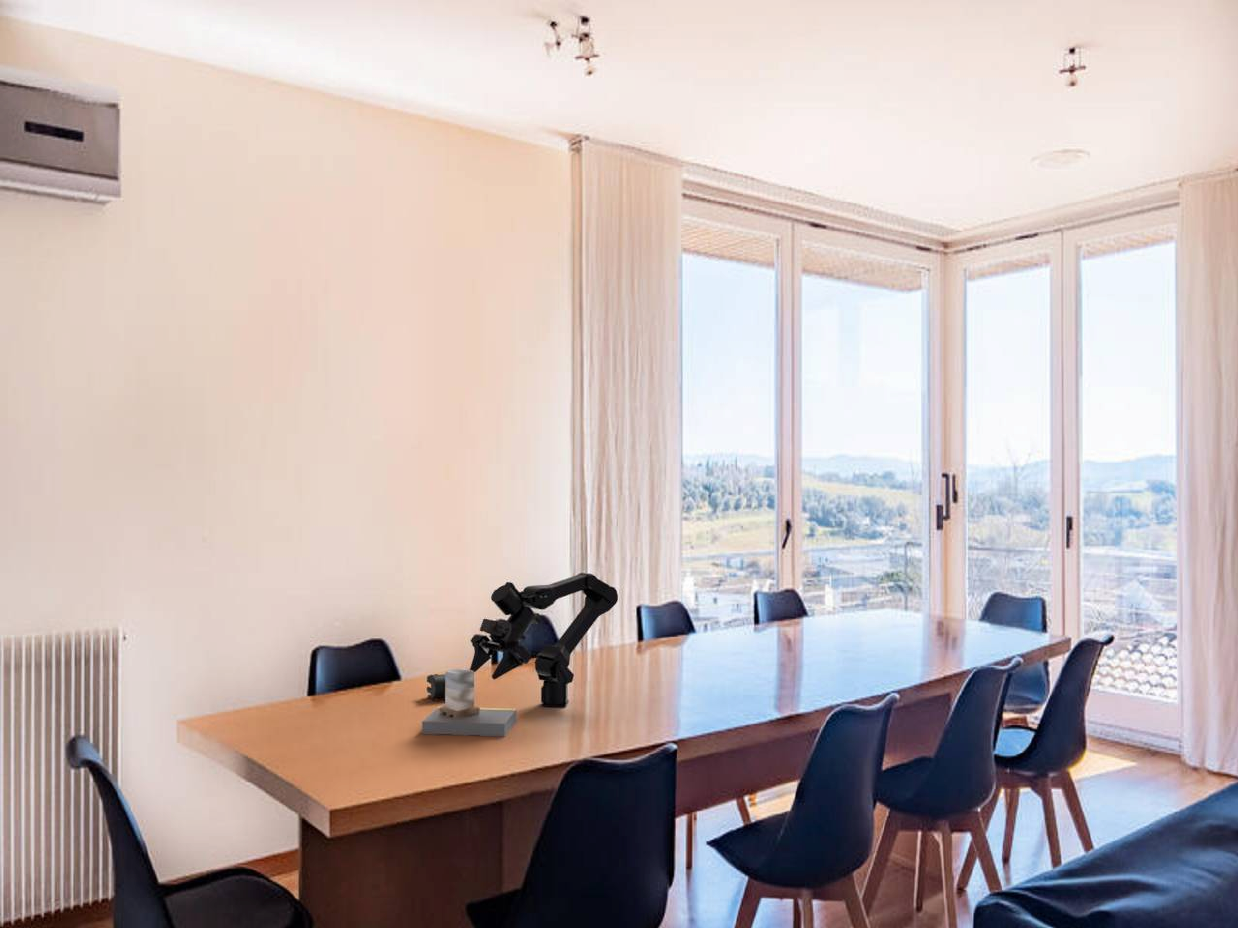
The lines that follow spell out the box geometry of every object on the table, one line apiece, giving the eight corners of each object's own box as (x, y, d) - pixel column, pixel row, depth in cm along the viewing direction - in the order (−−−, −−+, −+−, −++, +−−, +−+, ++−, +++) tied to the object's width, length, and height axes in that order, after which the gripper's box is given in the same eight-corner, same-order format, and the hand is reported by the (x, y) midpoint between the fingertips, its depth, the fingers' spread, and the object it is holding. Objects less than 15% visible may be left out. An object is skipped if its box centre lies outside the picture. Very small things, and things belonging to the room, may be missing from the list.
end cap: (435, 702, 253) (435, 677, 253) (425, 697, 259) (425, 673, 259) (469, 698, 258) (469, 673, 258) (458, 693, 264) (458, 669, 264)
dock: (516, 721, 234) (516, 708, 234) (504, 736, 220) (504, 723, 220) (438, 718, 236) (438, 706, 236) (422, 733, 222) (422, 720, 222)
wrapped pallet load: (462, 708, 234) (462, 666, 234) (479, 713, 229) (479, 670, 229) (439, 713, 229) (439, 670, 229) (456, 718, 224) (456, 675, 224)
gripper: (476, 603, 245) (441, 650, 237) (522, 610, 232) (486, 661, 224) (500, 629, 250) (466, 677, 242) (545, 638, 237) (511, 688, 229)
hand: (481, 675), depth 234 cm, fingers open, 9 cm apart
